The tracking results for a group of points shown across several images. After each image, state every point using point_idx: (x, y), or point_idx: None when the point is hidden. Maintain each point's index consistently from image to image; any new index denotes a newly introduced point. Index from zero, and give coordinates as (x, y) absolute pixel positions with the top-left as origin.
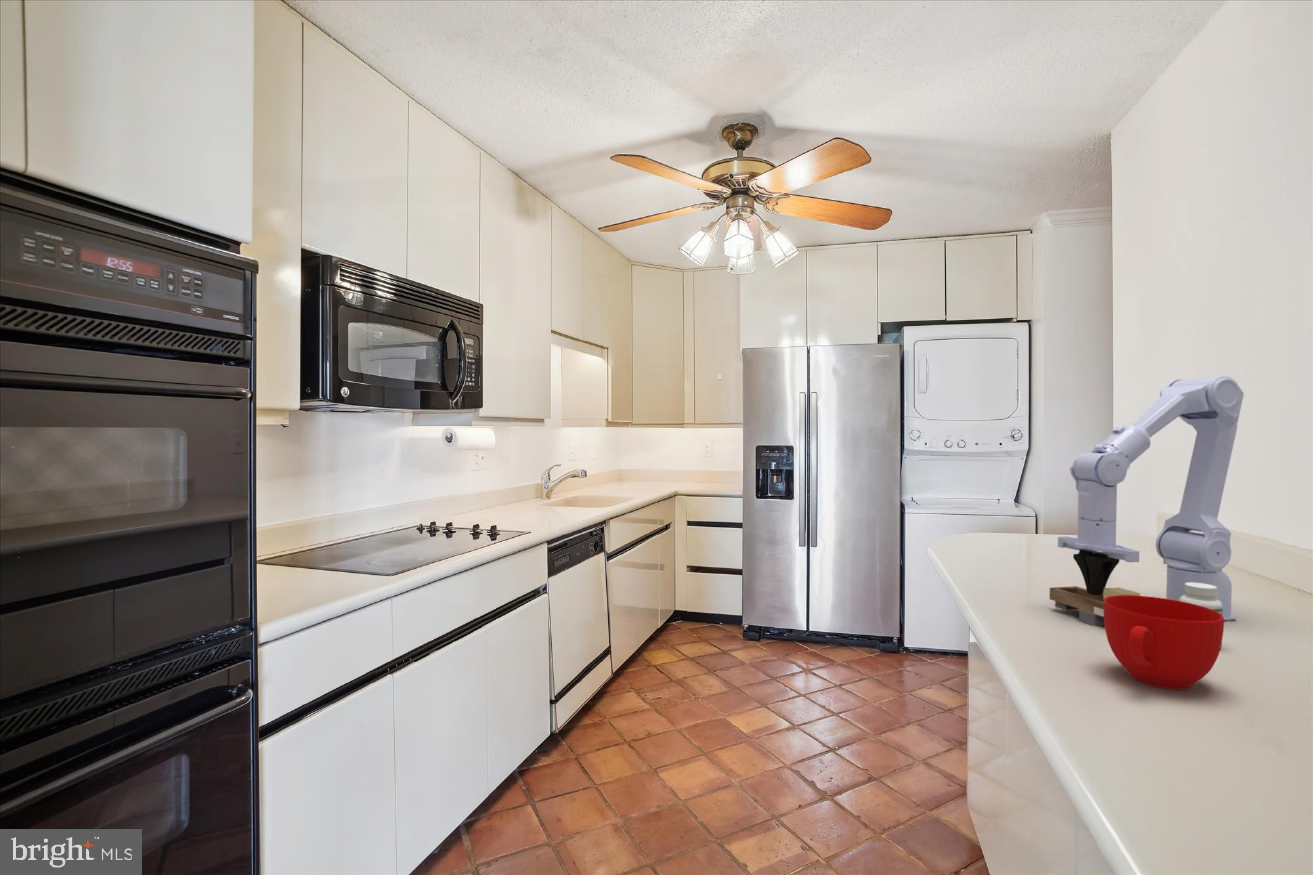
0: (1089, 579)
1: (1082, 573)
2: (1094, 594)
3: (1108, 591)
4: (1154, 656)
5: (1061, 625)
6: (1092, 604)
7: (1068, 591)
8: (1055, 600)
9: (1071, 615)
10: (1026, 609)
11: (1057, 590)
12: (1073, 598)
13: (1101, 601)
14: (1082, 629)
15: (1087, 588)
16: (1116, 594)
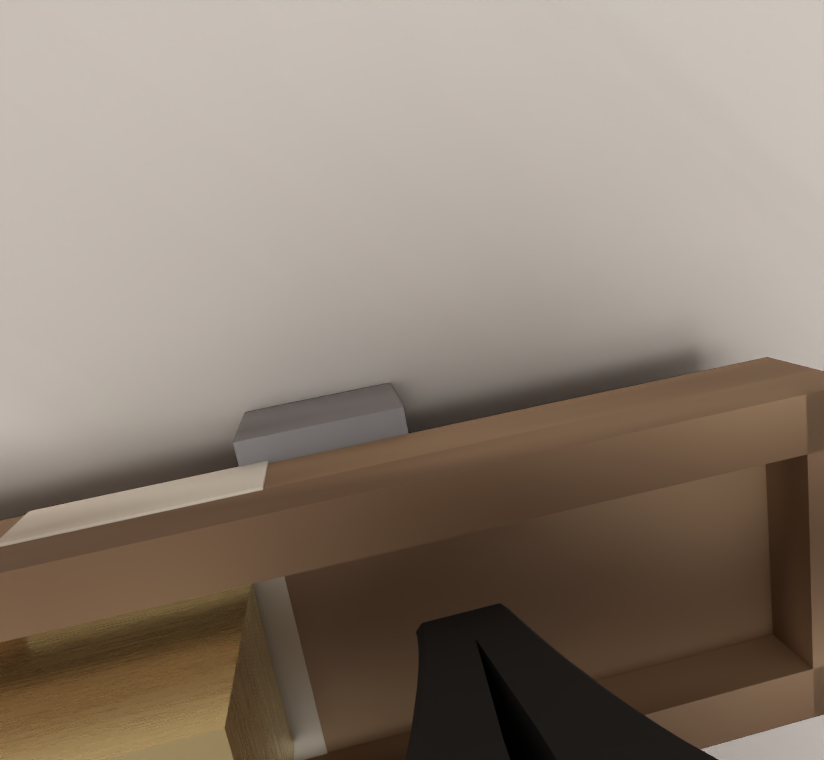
0: (493, 721)
1: (658, 736)
2: (416, 633)
3: (140, 726)
4: None
5: (254, 119)
6: (284, 491)
7: (784, 563)
8: (704, 371)
9: None
10: (739, 137)
11: (757, 403)
12: (529, 438)
13: None
14: (136, 236)
15: (504, 626)
16: (14, 754)
